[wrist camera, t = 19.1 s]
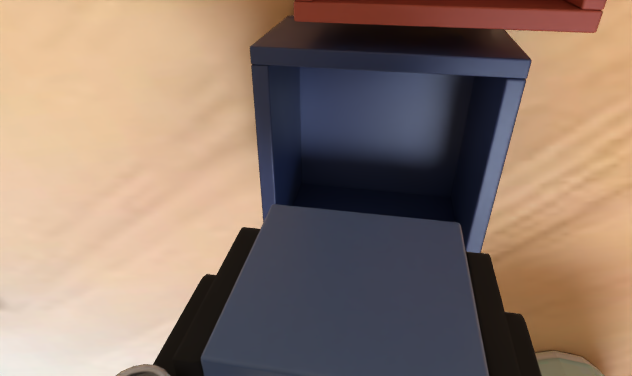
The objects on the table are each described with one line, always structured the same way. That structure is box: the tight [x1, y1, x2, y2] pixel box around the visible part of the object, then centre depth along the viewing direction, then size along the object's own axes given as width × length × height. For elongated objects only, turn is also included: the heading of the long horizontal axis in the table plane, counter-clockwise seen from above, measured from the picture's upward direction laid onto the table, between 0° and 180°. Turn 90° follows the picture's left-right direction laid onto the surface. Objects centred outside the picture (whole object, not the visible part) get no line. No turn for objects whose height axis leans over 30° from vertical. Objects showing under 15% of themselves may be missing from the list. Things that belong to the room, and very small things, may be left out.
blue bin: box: [250, 16, 531, 253], centre depth 18 cm, size 9×9×6 cm
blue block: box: [201, 204, 489, 376], centre depth 9 cm, size 4×4×4 cm
